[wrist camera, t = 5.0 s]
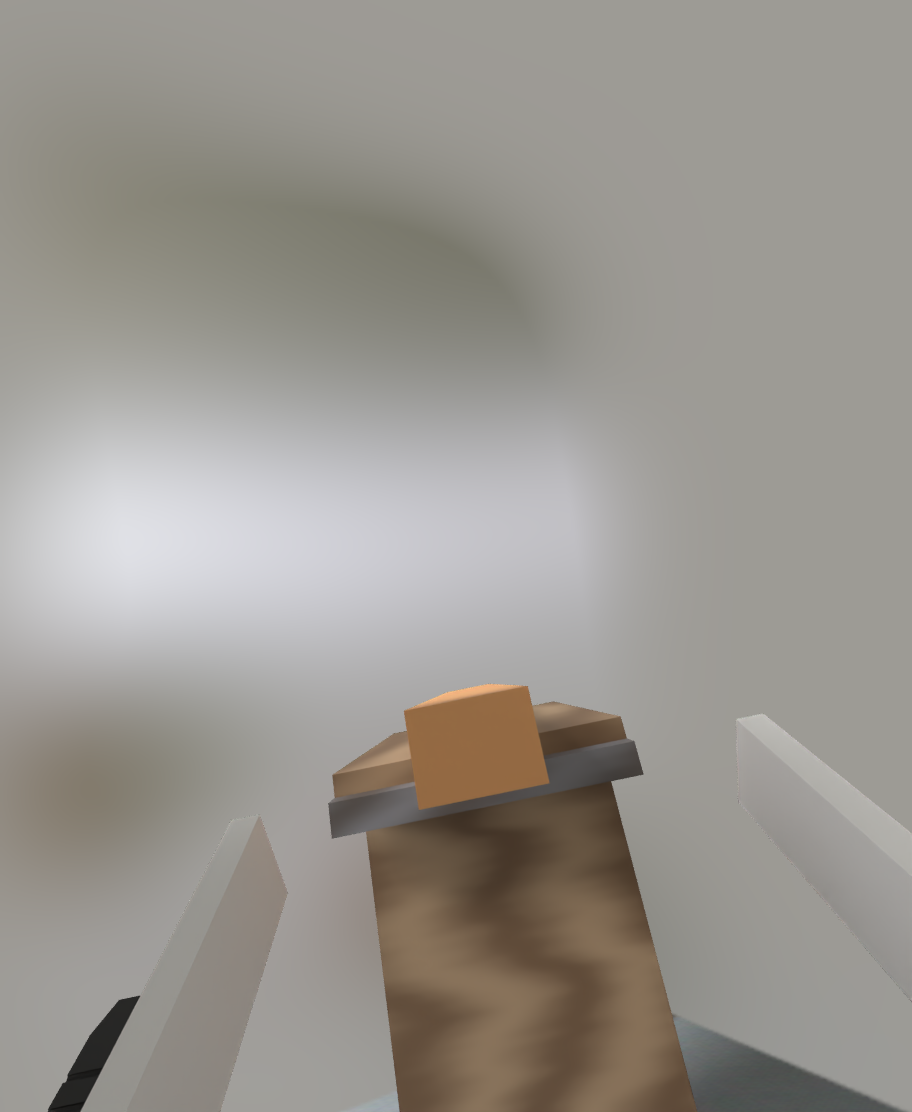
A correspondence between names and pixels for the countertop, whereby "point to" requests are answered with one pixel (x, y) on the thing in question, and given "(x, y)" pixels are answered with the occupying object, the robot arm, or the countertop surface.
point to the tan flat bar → (474, 744)
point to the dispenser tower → (517, 933)
